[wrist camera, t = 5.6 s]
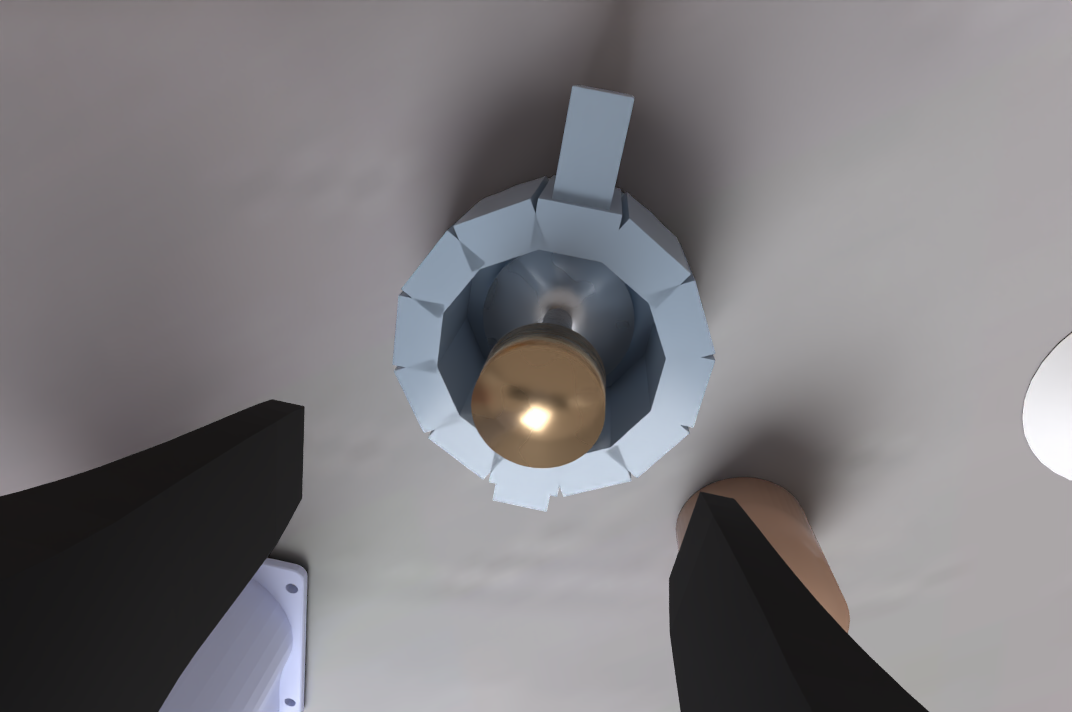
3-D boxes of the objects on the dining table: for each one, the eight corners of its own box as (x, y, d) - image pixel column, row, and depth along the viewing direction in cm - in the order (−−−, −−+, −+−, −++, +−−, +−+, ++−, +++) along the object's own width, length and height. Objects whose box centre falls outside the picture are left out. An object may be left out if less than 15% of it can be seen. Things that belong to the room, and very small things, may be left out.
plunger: (615, 396, 20) (615, 514, 15) (476, 367, 21) (426, 474, 15) (650, 260, 19) (665, 339, 13) (497, 229, 19) (448, 294, 13)
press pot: (650, 456, 22) (657, 535, 18) (422, 408, 22) (382, 476, 18) (751, 117, 17) (790, 128, 14) (461, 61, 18) (419, 56, 14)
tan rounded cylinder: (788, 589, 24) (826, 690, 20) (666, 571, 24) (677, 667, 20) (822, 486, 22) (869, 574, 18) (688, 468, 22) (705, 551, 18)
